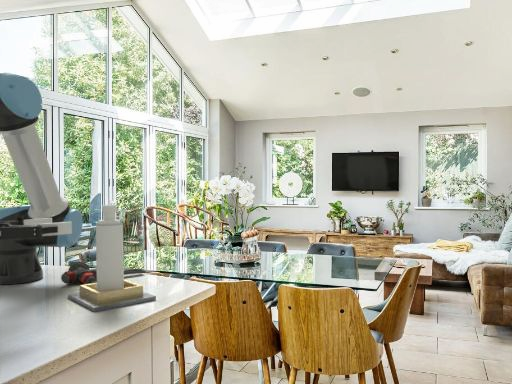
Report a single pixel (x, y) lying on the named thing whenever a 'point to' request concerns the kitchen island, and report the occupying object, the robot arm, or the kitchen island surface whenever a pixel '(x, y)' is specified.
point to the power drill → (87, 273)
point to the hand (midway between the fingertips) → (61, 225)
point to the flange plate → (110, 296)
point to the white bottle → (109, 251)
